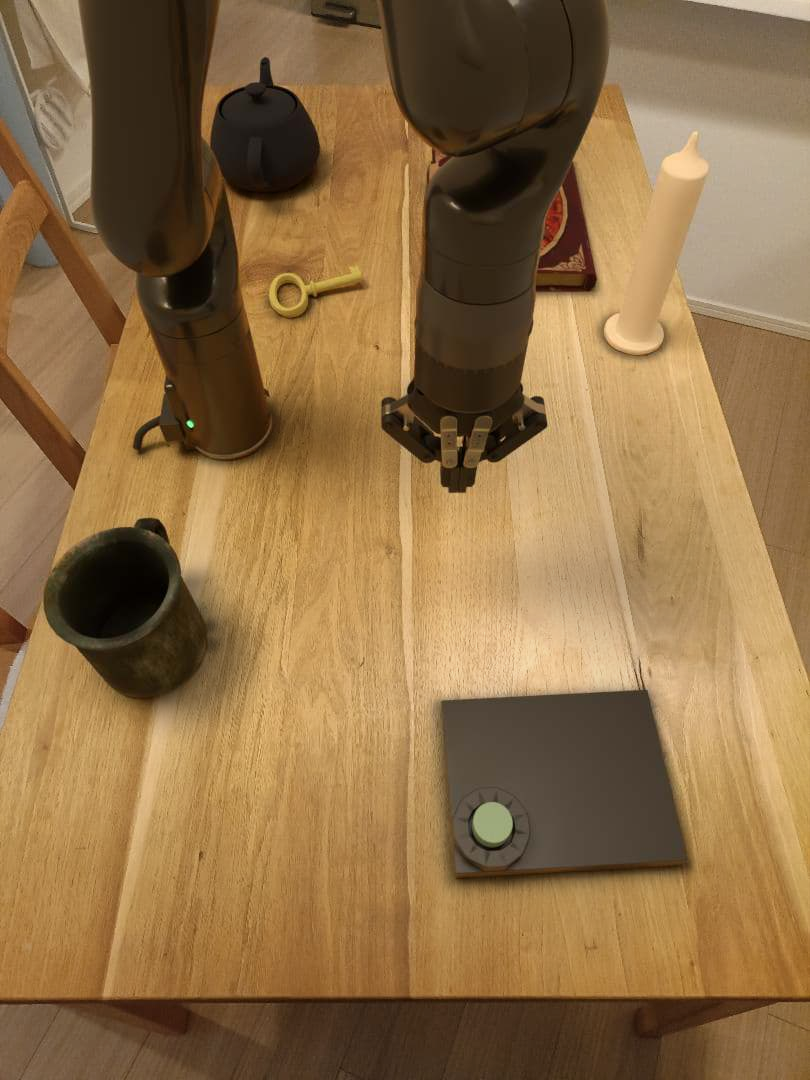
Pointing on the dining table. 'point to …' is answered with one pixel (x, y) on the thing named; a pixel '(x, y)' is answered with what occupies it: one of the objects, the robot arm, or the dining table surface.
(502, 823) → the button
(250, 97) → the teapot
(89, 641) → the mug
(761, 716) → the dining table surface
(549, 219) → the book
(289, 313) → the key
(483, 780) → the scale
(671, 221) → the candle
